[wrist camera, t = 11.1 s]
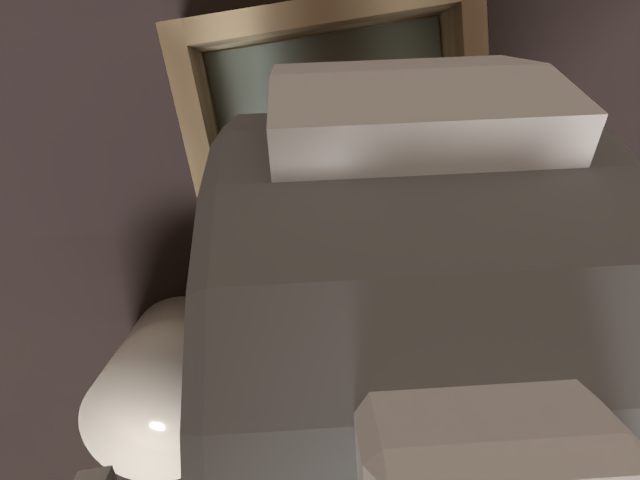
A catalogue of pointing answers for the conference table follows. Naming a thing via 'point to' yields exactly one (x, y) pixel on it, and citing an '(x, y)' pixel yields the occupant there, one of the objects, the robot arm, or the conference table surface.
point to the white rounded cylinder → (140, 399)
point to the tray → (297, 51)
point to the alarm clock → (415, 280)
